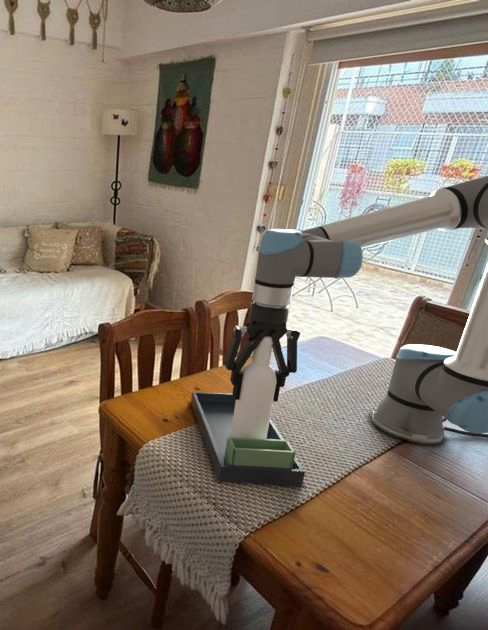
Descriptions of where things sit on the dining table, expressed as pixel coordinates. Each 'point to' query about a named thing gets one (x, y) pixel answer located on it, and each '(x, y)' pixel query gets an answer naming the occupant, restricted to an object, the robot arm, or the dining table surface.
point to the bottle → (255, 394)
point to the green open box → (259, 453)
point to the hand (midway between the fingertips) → (254, 397)
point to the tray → (216, 428)
